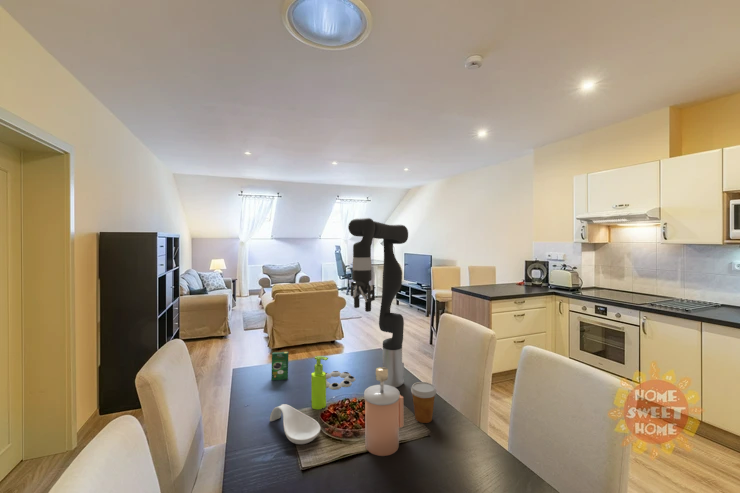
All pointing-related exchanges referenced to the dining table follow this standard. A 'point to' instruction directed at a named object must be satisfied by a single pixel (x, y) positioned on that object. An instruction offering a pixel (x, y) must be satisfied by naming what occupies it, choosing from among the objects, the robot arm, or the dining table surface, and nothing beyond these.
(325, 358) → the soap dispenser
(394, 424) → the press pot
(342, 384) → the paint palette
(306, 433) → the spoon rest
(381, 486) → the dining table surface
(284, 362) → the coffee box
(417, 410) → the disposable coffee cup
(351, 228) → the robot arm
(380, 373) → the plunger
